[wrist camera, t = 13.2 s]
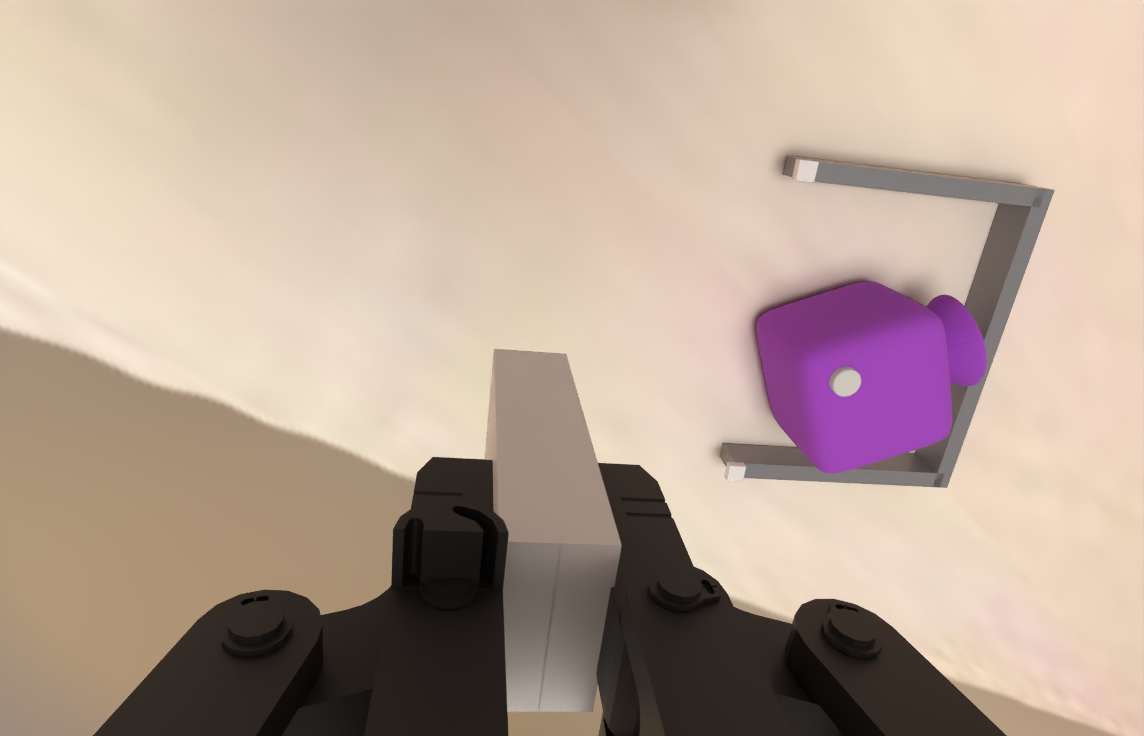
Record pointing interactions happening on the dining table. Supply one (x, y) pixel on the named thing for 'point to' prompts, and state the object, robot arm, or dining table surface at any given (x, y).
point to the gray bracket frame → (985, 303)
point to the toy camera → (866, 372)
